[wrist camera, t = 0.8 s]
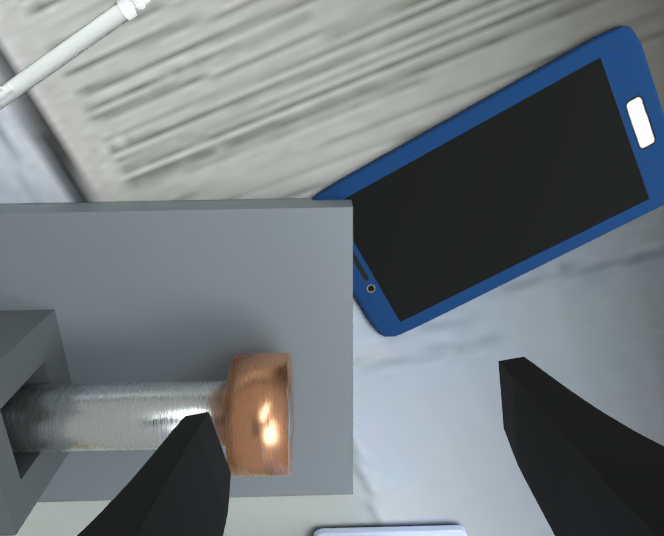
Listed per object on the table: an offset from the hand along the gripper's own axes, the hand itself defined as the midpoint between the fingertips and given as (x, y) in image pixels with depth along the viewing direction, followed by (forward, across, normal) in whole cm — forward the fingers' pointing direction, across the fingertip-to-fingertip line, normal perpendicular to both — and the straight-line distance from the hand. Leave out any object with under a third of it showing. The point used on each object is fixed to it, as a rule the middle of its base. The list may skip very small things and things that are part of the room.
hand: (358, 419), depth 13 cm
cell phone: (+11, -6, -2) cm, 13 cm away
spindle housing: (+10, +12, +2) cm, 16 cm away
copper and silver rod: (+8, +9, +3) cm, 12 cm away
